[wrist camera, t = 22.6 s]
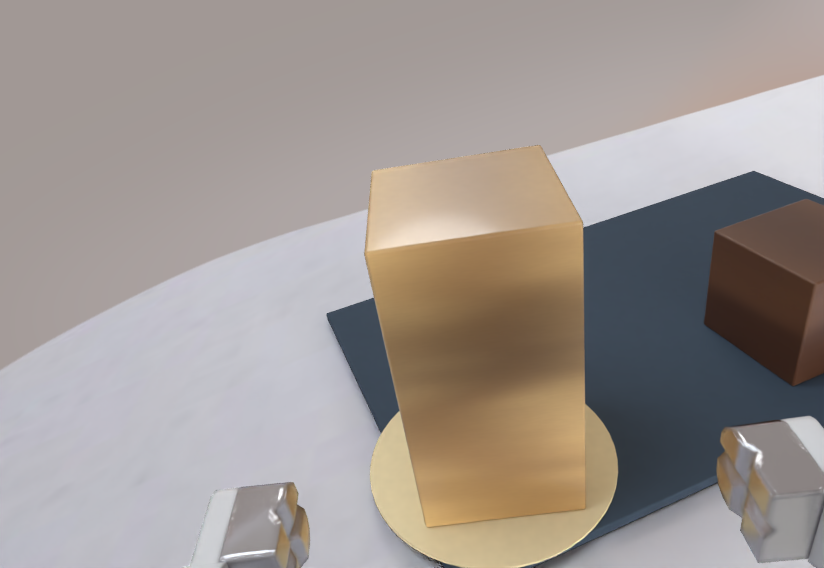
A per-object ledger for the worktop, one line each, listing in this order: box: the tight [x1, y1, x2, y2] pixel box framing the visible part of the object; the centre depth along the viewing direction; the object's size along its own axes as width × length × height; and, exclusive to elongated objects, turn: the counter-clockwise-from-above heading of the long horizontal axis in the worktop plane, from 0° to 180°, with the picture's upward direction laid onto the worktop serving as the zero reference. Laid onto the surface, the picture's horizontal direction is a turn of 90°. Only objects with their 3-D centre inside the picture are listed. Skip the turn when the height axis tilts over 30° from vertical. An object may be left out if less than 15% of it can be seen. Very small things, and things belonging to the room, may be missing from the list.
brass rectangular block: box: [364, 145, 586, 527], centre depth 19 cm, size 5×5×10 cm
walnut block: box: [704, 199, 824, 386], centre depth 23 cm, size 4×4×4 cm
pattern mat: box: [327, 171, 824, 568], centre depth 27 cm, size 27×16×1 cm, turn 111°
